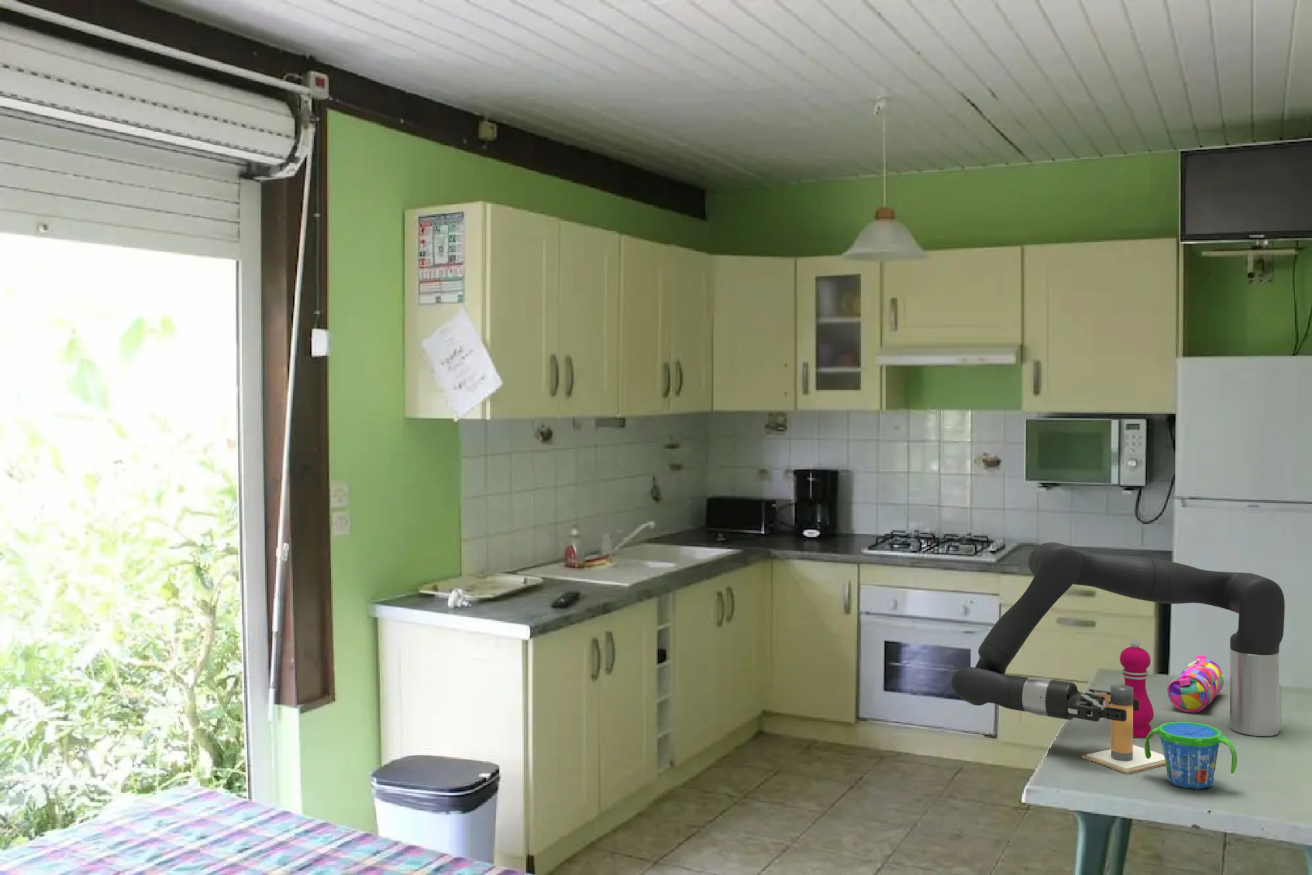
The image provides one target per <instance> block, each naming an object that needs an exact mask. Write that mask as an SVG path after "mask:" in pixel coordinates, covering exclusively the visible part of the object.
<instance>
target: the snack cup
mask: <svg viewBox="0 0 1312 875" xmlns="http://www.w3.org/2000/svg"><path fill="white" fill-rule="evenodd" d="M1155 733H1157V734H1158V736H1159V739H1160V743H1161V745H1162V751H1163V755H1164V757H1165V763H1166V765H1165V769H1166V774H1167V777H1168V780H1169V781H1170V782H1171V783H1172V784H1173V785H1175V786H1178V787H1181V788H1184V789H1196V790H1199V789H1205V788H1206V787H1207V788H1209V787H1212V786H1213V783H1214V779H1215V778H1214V776H1215V771H1216V767H1217V760H1218V751H1219V746H1220V743H1222V744H1224V745H1225V746H1227V747H1228V748H1229V752H1230V754H1231V765H1230V766H1231V768H1230V773H1231V774H1234V773H1235V771H1236V768H1237V766H1238V754H1237V751H1236V748H1235V746H1234V744H1233V743H1232V742H1231V740H1230V739H1229V738H1228V737H1226V736H1224V735H1223V734H1222V731H1221V730H1220V729H1218V728H1217V727H1214V726H1211V725H1208V724H1204V723H1200V722H1193V721H1192V722H1191V721H1171V722H1165V723H1162V724H1161V725H1159V726H1157V727H1154V728H1153V729H1151V732H1150V733H1149V734H1148V736H1147V737H1145V740H1144V747H1143V748H1144V749H1145V755H1146V758H1147V759H1149V758H1150V757H1151V752H1150V751H1151V746H1150V739H1151V738H1152V736H1153V735H1154V734H1155Z"/></svg>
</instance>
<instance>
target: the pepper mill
mask: <svg viewBox="0 0 1312 875" xmlns="http://www.w3.org/2000/svg"><path fill="white" fill-rule="evenodd" d="M1140 645H1141V644H1140V642H1139V641H1138V640H1137V639H1132V640H1131V641H1130V646H1129V647H1126V648H1124V649H1123V650H1122V651H1121V652H1120V655H1119V662H1120V664H1121V666H1122V668H1123V669H1122V670H1121V671H1122V676H1123V677H1124V685H1127V686H1131V687H1133V699H1138V700H1139V701H1140V709H1139V710H1138V711H1133V738H1147V736H1148V734H1149V733H1150V732H1151V731H1152V726H1151V724H1149V723H1151V722H1152V721H1153V719H1154V716H1155V714H1154V708H1153V705H1152V703H1151V700H1150V698H1149V696H1148V693H1147V688H1146V685H1147V684H1146V683H1147V682H1146V680H1147V679H1148V678H1149V676H1148V674H1149V671H1148V670H1147V669H1148V668H1149V667H1150V665H1151V656H1150V653H1149V652H1148V651H1147V650H1146V649H1144V648H1141V647H1140Z"/></svg>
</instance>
